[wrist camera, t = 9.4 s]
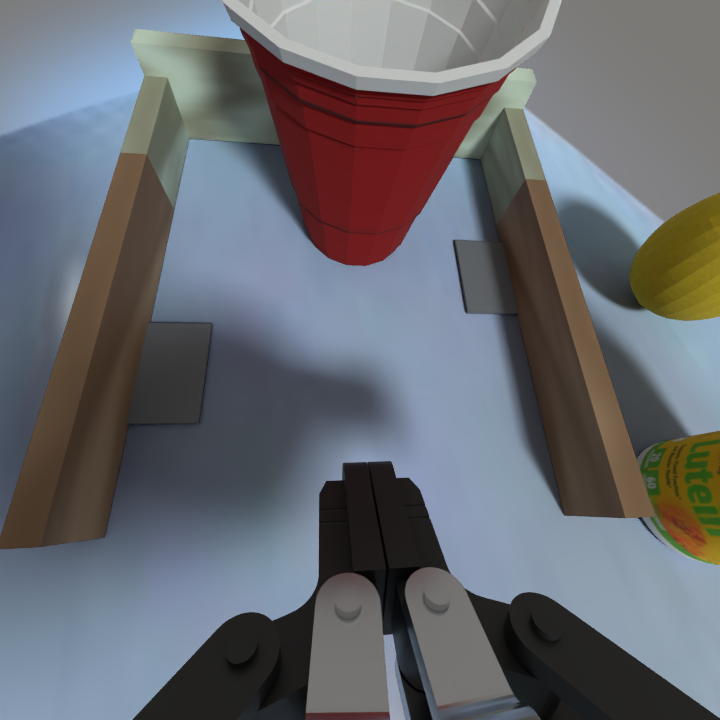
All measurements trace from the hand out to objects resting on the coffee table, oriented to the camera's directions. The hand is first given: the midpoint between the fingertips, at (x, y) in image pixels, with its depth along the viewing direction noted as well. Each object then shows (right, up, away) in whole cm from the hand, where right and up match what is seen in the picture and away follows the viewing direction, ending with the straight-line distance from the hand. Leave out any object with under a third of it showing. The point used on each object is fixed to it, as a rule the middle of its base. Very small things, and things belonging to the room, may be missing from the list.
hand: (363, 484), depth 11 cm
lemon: (+17, +7, +11) cm, 21 cm away
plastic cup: (0, +12, +10) cm, 16 cm away
